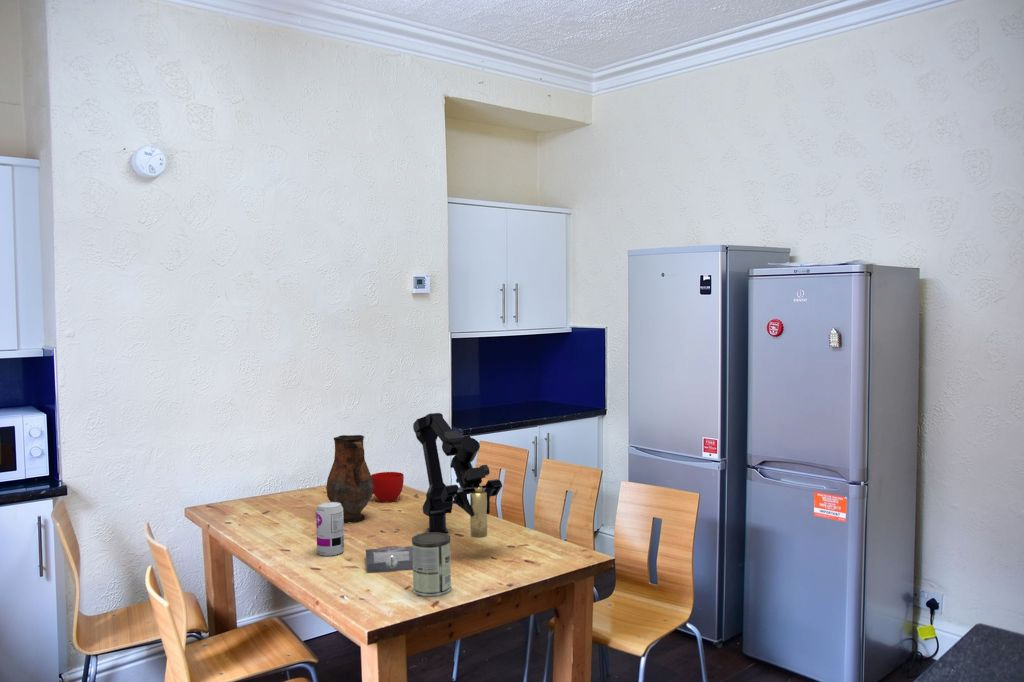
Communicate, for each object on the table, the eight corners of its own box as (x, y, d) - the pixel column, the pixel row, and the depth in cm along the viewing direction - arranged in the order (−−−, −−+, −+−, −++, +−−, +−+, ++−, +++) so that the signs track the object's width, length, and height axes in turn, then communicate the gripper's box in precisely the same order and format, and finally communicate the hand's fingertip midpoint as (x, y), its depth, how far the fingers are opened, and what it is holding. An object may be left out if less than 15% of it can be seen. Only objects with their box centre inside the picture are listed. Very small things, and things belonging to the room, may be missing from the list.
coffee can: (414, 583, 214) (413, 532, 213) (452, 582, 214) (451, 531, 213) (410, 597, 203) (409, 543, 203) (450, 596, 204) (449, 542, 203)
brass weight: (470, 533, 238) (470, 485, 237) (487, 532, 238) (486, 485, 237) (470, 537, 233) (469, 489, 232) (487, 537, 233) (486, 489, 232)
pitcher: (363, 510, 293) (362, 431, 292) (385, 523, 275) (383, 438, 274) (320, 517, 284) (318, 435, 283) (339, 530, 266) (338, 443, 265)
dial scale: (365, 557, 236) (365, 543, 236) (412, 554, 239) (412, 539, 239) (367, 573, 222) (366, 557, 222) (416, 569, 225) (416, 553, 225)
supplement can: (317, 557, 237) (316, 508, 236) (316, 549, 245) (315, 502, 244) (344, 555, 239) (343, 506, 239) (343, 547, 247) (342, 500, 247)
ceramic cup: (359, 498, 312) (358, 473, 312) (401, 495, 317) (400, 470, 317) (362, 506, 300) (362, 480, 299) (406, 502, 305) (406, 477, 304)
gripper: (444, 459, 233) (460, 504, 224) (499, 453, 242) (517, 496, 233) (434, 480, 240) (449, 524, 231) (488, 473, 249) (504, 516, 240)
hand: (480, 514), depth 234 cm, fingers closed on brass weight, 5 cm apart
